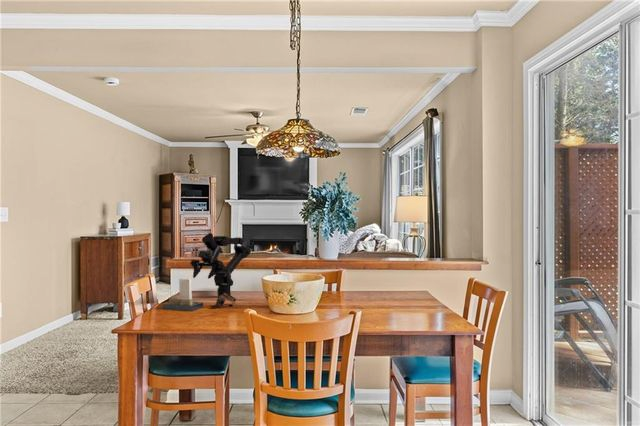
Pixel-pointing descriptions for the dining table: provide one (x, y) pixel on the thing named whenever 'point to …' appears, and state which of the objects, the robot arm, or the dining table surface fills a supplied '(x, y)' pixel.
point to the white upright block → (185, 288)
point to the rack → (183, 306)
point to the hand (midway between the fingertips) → (200, 277)
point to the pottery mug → (222, 299)
